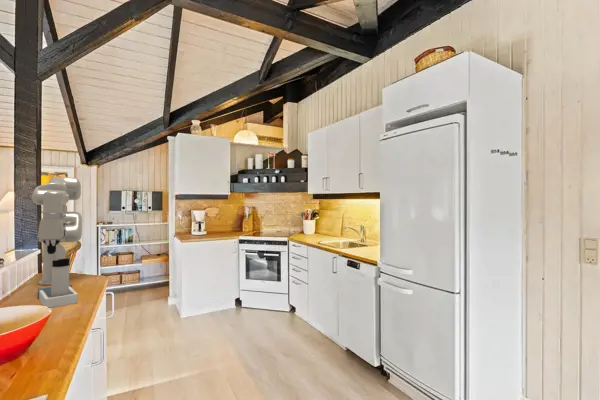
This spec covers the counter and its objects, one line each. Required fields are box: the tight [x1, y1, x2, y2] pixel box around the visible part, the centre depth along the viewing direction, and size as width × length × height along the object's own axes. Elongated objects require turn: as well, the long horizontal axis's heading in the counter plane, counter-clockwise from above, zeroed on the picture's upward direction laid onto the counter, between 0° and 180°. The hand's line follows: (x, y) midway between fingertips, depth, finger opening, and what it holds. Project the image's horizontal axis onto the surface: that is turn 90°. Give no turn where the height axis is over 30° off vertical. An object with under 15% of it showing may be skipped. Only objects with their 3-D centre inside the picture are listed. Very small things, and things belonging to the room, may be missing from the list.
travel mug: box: [50, 257, 71, 298], centre depth 137 cm, size 6×7×20 cm
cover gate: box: [36, 286, 51, 300], centre depth 144 cm, size 1×11×5 cm, turn 136°
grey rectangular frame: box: [38, 283, 79, 309], centre depth 139 cm, size 18×12×4 cm
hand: (51, 253), depth 148 cm, fingers closed
